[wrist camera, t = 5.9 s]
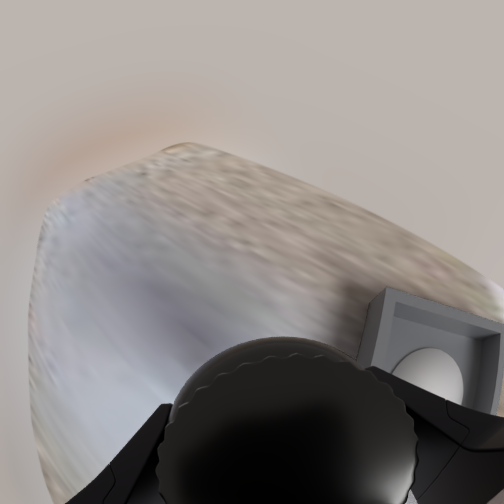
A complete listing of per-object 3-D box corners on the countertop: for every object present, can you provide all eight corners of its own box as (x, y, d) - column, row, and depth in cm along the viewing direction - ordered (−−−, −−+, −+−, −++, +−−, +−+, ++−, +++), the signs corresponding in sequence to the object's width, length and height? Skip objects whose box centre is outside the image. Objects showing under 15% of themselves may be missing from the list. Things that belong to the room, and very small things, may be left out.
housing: (453, 472, 14) (477, 477, 11) (320, 463, 17) (332, 476, 14) (483, 335, 21) (506, 325, 17) (369, 302, 24) (386, 286, 20)
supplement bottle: (216, 358, 16) (131, 274, 5) (331, 364, 15) (457, 290, 5) (206, 466, 12) (109, 566, 2) (324, 471, 12) (431, 566, 1)
